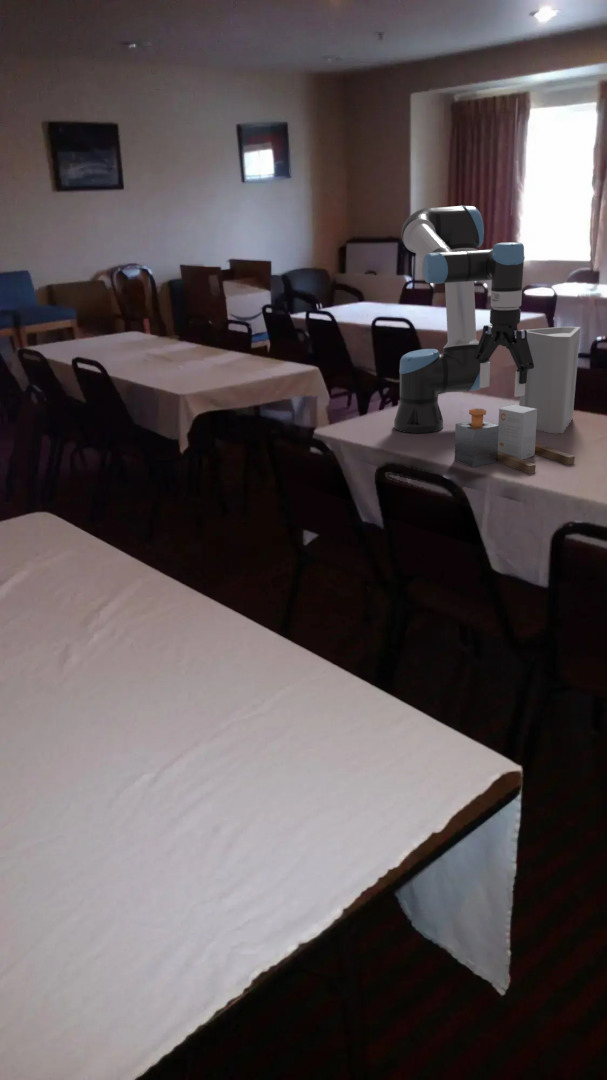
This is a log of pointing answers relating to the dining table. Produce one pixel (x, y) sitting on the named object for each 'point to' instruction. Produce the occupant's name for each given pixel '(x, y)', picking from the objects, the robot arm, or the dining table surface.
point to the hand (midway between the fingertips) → (501, 391)
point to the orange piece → (477, 417)
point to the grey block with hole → (476, 443)
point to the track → (539, 450)
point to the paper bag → (552, 376)
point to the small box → (517, 431)
